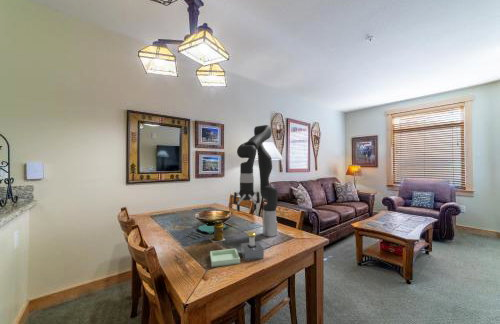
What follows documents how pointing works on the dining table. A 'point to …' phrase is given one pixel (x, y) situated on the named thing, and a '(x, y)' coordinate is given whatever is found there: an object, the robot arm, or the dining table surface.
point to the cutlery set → (203, 230)
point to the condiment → (218, 231)
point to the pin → (251, 239)
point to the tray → (224, 257)
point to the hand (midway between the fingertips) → (246, 210)
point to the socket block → (252, 251)
